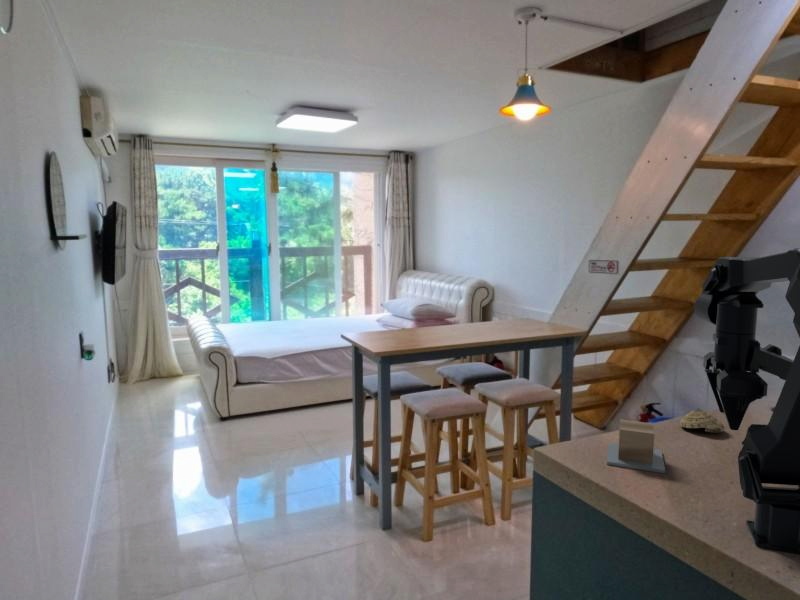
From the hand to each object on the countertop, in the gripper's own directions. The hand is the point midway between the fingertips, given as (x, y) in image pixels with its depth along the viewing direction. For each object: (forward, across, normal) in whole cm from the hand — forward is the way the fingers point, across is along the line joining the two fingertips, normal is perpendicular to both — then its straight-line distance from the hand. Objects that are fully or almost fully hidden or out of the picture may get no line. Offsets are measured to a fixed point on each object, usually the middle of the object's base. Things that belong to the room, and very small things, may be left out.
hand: (728, 420), depth 90 cm
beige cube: (+11, +7, +14) cm, 19 cm away
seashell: (+12, +28, -4) cm, 31 cm away
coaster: (+12, +7, +14) cm, 20 cm away
